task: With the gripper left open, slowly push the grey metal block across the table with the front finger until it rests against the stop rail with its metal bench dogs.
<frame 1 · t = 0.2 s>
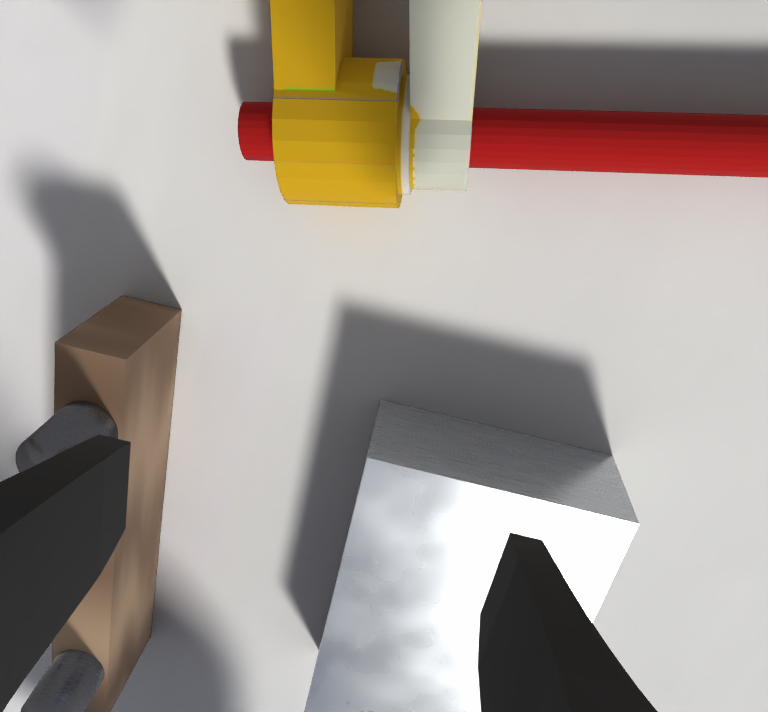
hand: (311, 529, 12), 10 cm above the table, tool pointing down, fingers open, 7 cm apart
grey metal block: (451, 556, 25), on the table
bench stop: (138, 487, 25), on the table
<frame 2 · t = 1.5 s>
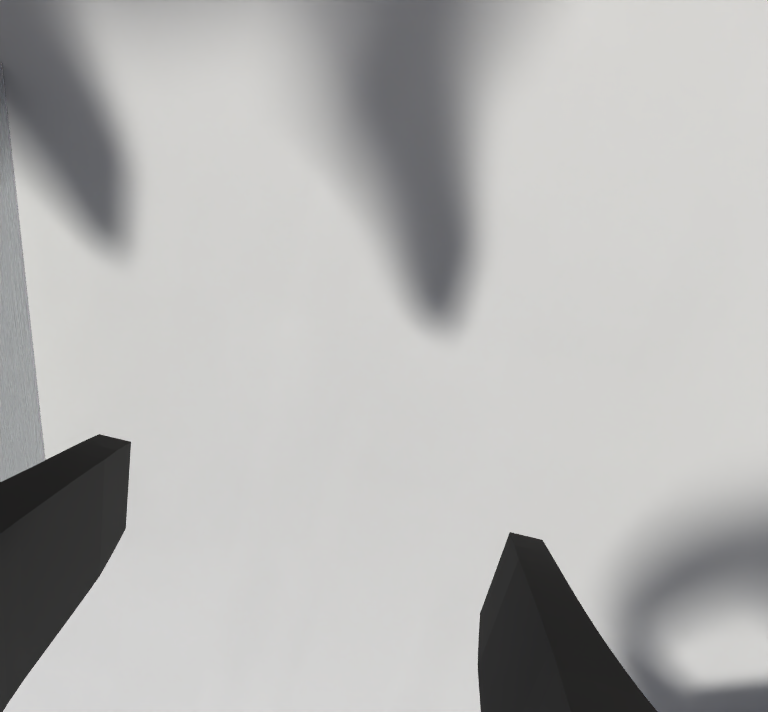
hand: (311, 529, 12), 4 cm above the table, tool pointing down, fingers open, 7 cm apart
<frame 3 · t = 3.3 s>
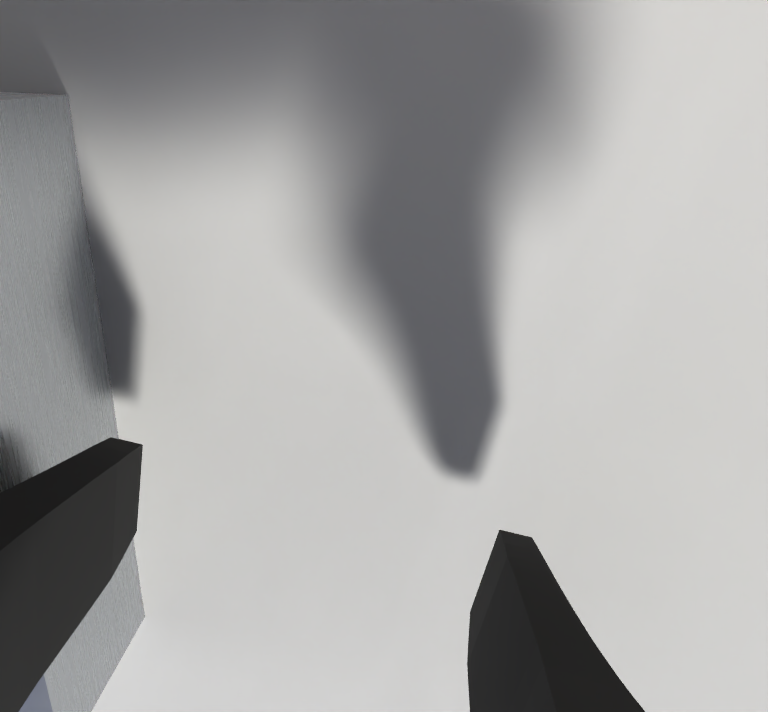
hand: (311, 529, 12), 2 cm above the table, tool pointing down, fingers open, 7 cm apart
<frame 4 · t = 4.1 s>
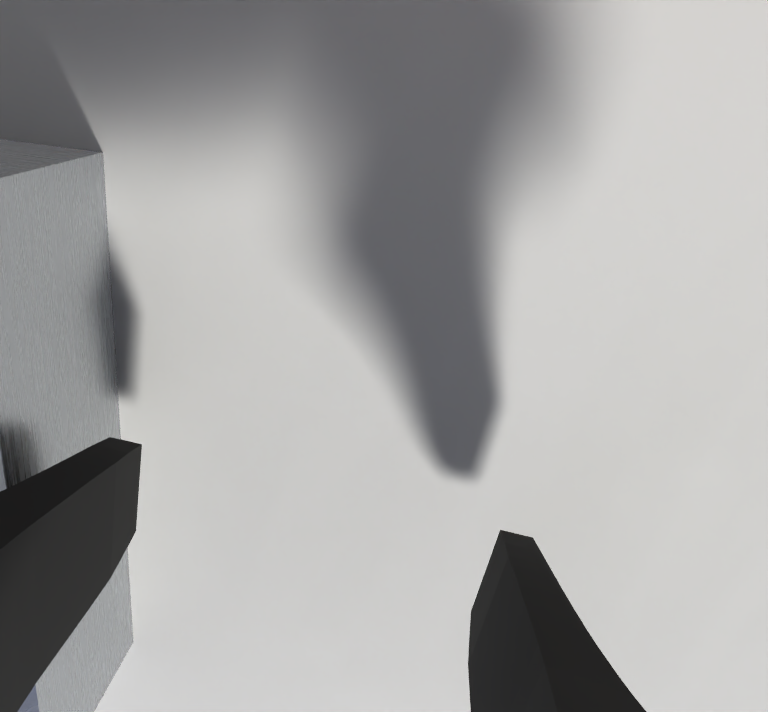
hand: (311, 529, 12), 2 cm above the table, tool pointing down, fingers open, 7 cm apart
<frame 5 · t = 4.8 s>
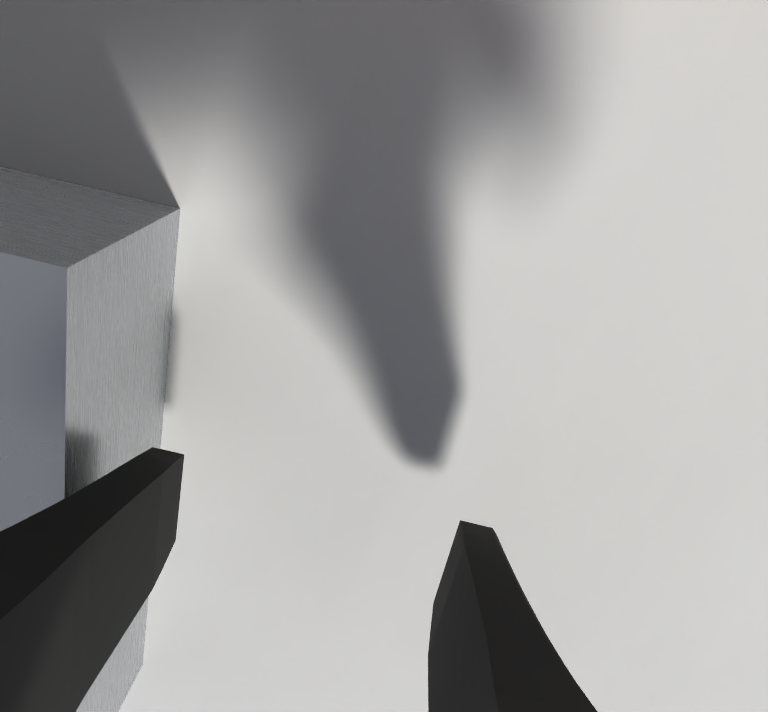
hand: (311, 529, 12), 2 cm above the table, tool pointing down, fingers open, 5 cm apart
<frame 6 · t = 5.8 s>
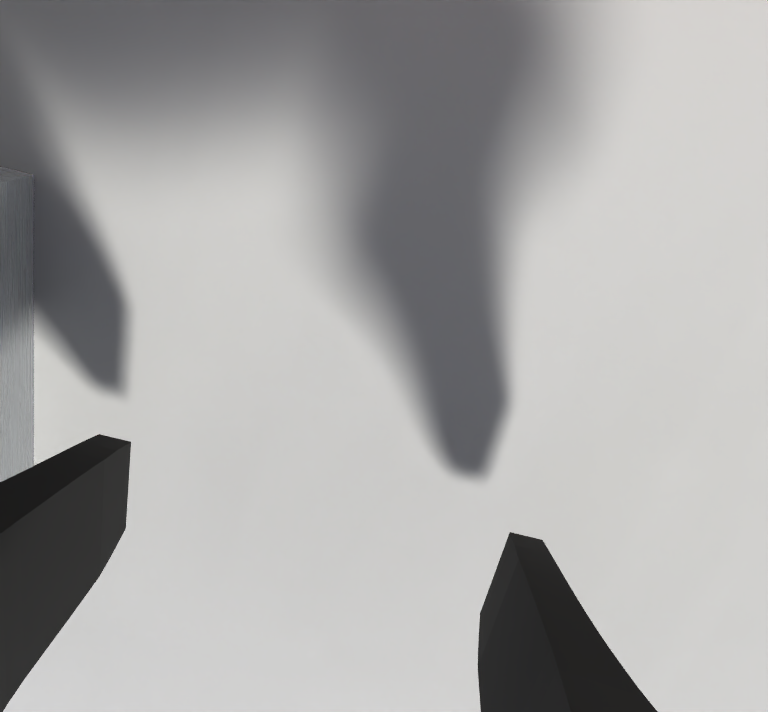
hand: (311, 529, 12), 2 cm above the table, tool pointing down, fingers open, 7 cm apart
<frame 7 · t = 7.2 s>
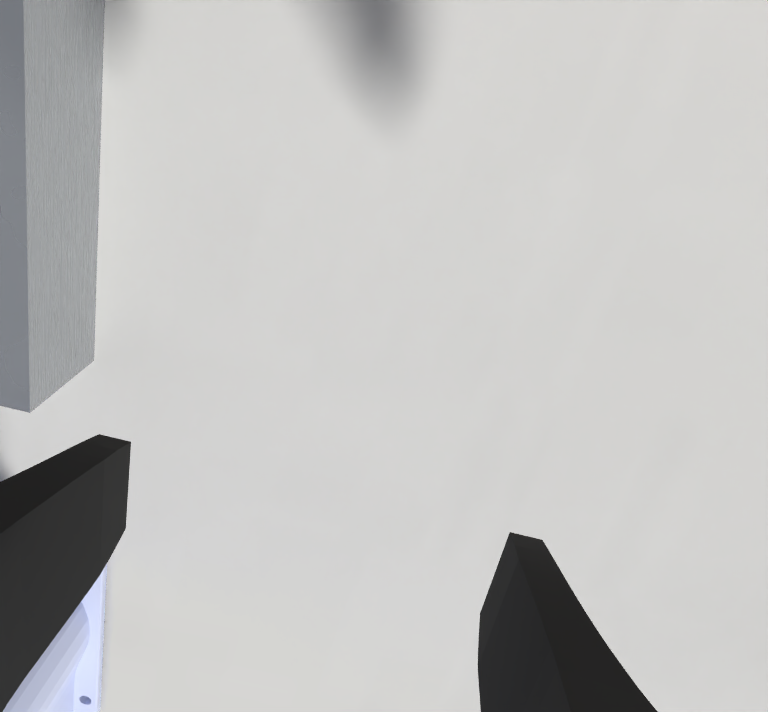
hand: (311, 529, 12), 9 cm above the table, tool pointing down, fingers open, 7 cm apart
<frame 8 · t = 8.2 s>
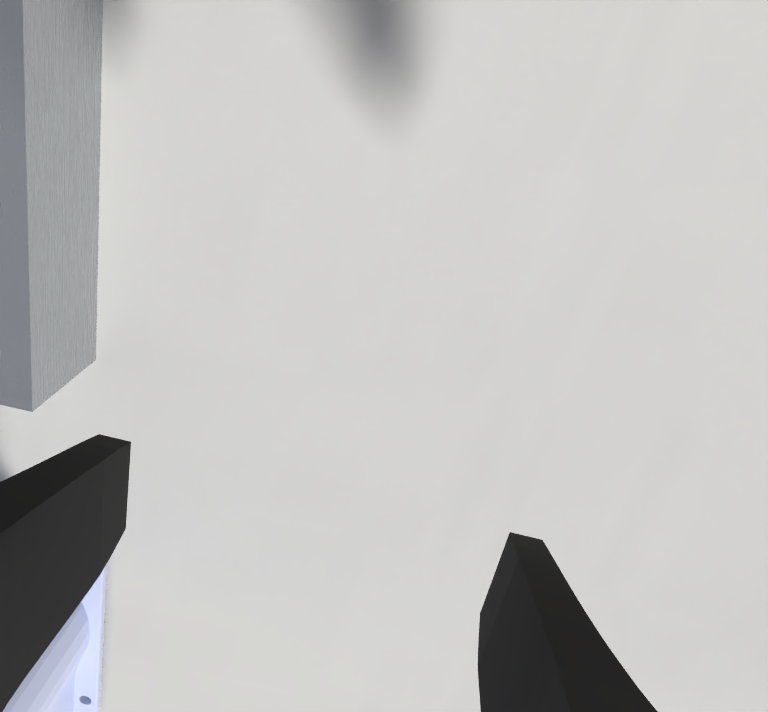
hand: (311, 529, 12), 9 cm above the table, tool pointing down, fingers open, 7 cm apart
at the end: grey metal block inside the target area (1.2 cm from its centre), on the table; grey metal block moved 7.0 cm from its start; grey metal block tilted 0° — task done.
